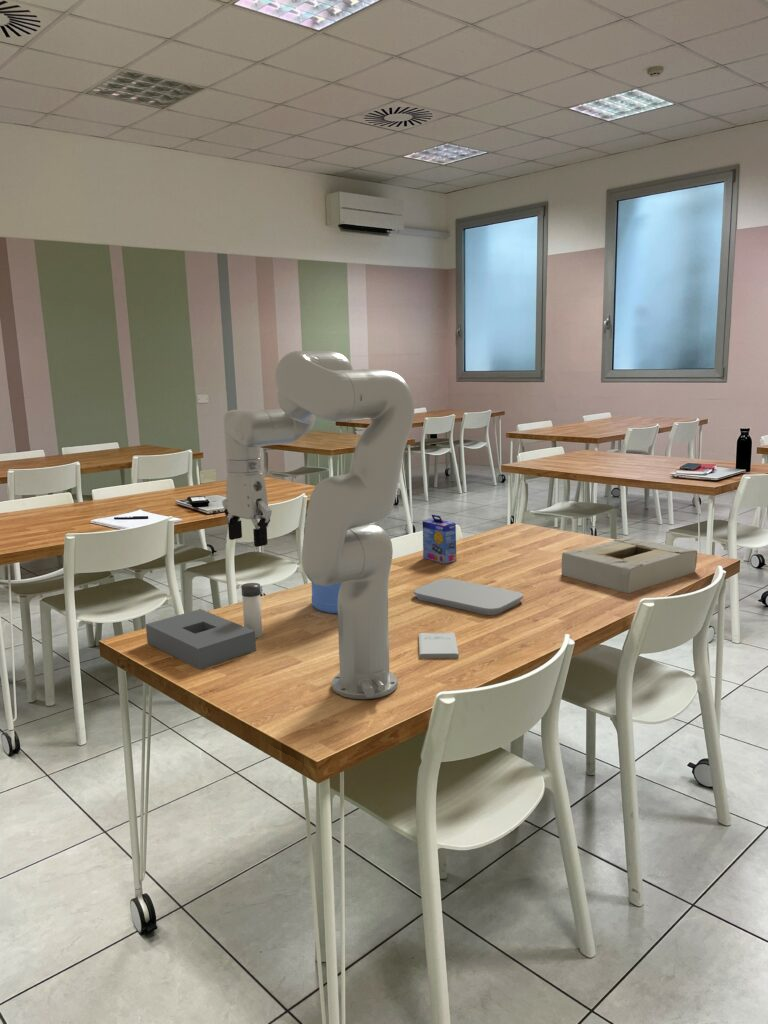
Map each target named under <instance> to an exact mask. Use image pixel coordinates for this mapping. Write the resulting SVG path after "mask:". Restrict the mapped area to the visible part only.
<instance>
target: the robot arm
mask: <svg viewBox="0 0 768 1024" xmlns="http://www.w3.org/2000/svg"><path fill="white" fill-rule="evenodd" d="M274 380H275V384H276V387H277V401H278V405H279V407H280V408H273V409H272V408H270V409H261V410H259V409H258V410H254V409H231V410H228V411H226V412H225V413H224V415H223V427H224V429H223V430H224V446H225V462H226V465H225V466H226V483H225V484H226V485H225V491H226V492H225V493H226V494H225V497H226V498H225V499H223V500H222V507H223V509H224V511H223V512H224V515H225V516H226V522H227V524H228V525H227V527H228V528H227V529H228V540H230V541H231V540H232V541H234V540H236V539H237V540H238V539H242V537H243V532H242V531H243V529H242V527H243V526H242V520H240V519H246V520H250V521H251V522H252V524H253V526H254V528H253V529H252V531H253V545H254V547H256V548H257V547H263V546H266V545H268V529H267V528H268V527H269V523H270V522H271V516H272V509H271V508H270V507H269V501H268V492H267V486H266V485H267V484H266V481H265V476H264V473H263V472H262V458H261V457H262V456H261V455H262V454H261V447H266V446H268V447H269V446H274V445H275V446H277V445H284V444H291V443H294V442H295V441H297V440H299V439H300V438H302V437H303V436H304V435H306V434H308V433H309V432H310V431H311V430H312V429H313V427H314V425H315V423H316V420H317V419H316V418H320V419H321V420H325V421H328V422H329V421H330V422H342V421H356V420H365V419H370V423H369V425H368V426H367V427H366V428H365V430H364V431H363V432H362V433H361V436H360V437H359V439H358V441H357V443H356V446H355V449H354V455H353V461H352V465H351V468H350V470H349V471H348V472H347V473H345V474H338V475H335V476H334V475H333V476H329V477H327V478H324V479H321V481H319V482H318V483H317V484H316V485H315V487H314V488H313V490H312V491H311V494H310V496H309V500H308V506H307V513H306V521H305V527H304V532H303V533H304V534H303V540H302V546H301V563H302V569H303V572H304V574H305V576H306V578H307V579H308V580H309V582H310V583H311V584H312V583H314V584H316V585H319V586H329V585H334V584H338V583H342V584H341V586H340V590H339V594H338V614H337V628H338V629H337V630H338V631H337V632H338V653H339V654H338V655H339V657H338V659H339V661H338V662H339V673H337V674H336V675H335V676H334V677H333V679H332V681H331V688H332V690H333V691H334V692H335V693H336V694H337V695H339V696H341V697H344V698H346V699H347V698H348V699H353V700H372V699H379V698H382V697H385V696H388V695H389V694H392V693H393V692H394V691H395V690H396V689H397V688H398V684H399V683H398V682H399V681H398V677H397V676H396V674H394V673H393V672H391V671H390V641H389V640H390V638H389V637H390V636H389V634H390V633H389V580H390V573H391V572H390V571H391V567H392V563H393V562H392V561H393V551H394V550H393V543H392V540H391V537H390V535H389V533H388V532H387V531H386V530H385V529H384V528H382V527H380V526H379V525H377V523H380V522H383V521H385V520H386V519H387V518H388V517H389V516H390V515H391V514H392V511H393V509H394V505H395V499H396V496H397V491H398V485H399V479H400V474H401V469H402V463H403V458H404V453H405V450H406V446H407V444H408V440H409V437H410V434H411V431H412V427H413V424H414V418H415V403H414V402H415V401H414V397H413V394H412V390H411V388H410V386H409V384H408V383H407V382H406V380H405V379H404V378H403V377H402V376H401V375H399V374H398V373H396V372H394V371H392V370H387V369H380V368H378V369H377V368H371V369H370V368H369V369H365V368H364V369H353V366H352V363H351V362H350V360H349V359H348V358H347V357H346V356H345V355H343V354H342V353H340V352H337V351H332V350H296V351H295V350H294V351H291V352H288V353H286V354H285V355H284V356H283V357H282V358H281V359H280V360H279V362H278V363H277V366H276V368H275V374H274ZM258 520H259V521H258Z"/></svg>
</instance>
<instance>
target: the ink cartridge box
mask: <svg viewBox="0 0 768 1024" xmlns="http://www.w3.org/2000/svg"><path fill="white" fill-rule="evenodd" d="M431 517H432V518H430V519H426V520H423V521H422V557H423V559H425V560H430V561H432V562H436V563H441V564H442V565H443V564H445V565H446V564H450V563H452V562H457V528H456V526H457V525H456V522H454V521H449V520H443V519H442V517H441V515H436V514H431Z"/></svg>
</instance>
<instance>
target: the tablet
mask: <svg viewBox="0 0 768 1024" xmlns="http://www.w3.org/2000/svg"><path fill="white" fill-rule="evenodd" d="M413 594H414V595H415V596H416V599H417V600H420V601H425V602H429V603H433V604H438V605H442V606H445V607H446V606H447V607H450V608H454V609H459V610H464V611H468V612H473V613H477V614H481V615H487V616H495V615H499V614H501V613H503V612H505V611H507V610H509V609H511V608H513V607H515V606H517V605H518V604H520V603H521V601H522V599H523V598H524V593H522V592H520V591H516V590H512V589H507V588H506V589H505V588H501V587H495V586H490V585H486V584H480V583H475V582H471V581H466V580H459V579H457V578H456V579H455V578H439V579H437V580H434V581H431V582H429V583H427V584H424V585H421V586H419V587H416V588H415V589H414V590H413Z"/></svg>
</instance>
